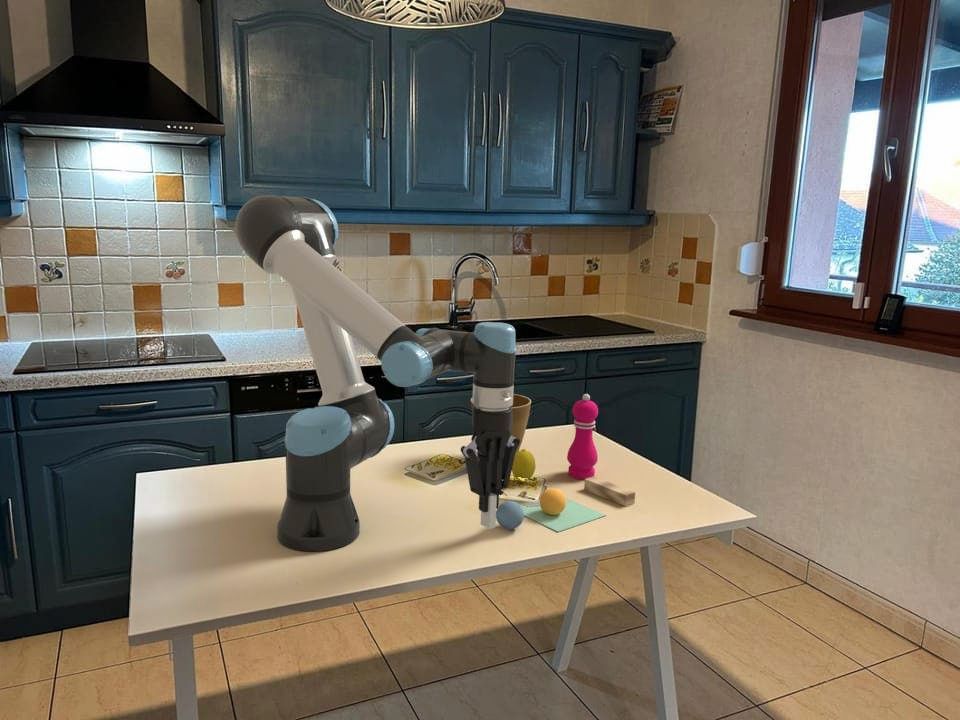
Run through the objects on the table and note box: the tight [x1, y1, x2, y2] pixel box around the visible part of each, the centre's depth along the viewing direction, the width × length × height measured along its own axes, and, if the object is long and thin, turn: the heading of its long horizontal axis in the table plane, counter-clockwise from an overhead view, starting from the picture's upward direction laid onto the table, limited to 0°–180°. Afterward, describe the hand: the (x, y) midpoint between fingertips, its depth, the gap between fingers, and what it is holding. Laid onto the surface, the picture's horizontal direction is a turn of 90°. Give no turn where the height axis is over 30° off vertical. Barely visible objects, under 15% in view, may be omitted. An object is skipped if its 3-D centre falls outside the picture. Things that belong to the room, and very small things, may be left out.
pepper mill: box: [566, 393, 599, 480], centre depth 172 cm, size 7×7×20 cm
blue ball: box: [496, 500, 525, 530], centre depth 142 cm, size 6×6×6 cm
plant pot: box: [470, 393, 532, 453], centre depth 180 cm, size 15×15×16 cm
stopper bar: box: [583, 475, 636, 507], centre depth 161 cm, size 12×3×2 cm, turn 39°
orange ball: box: [538, 487, 567, 515], centre depth 150 cm, size 6×6×6 cm
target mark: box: [519, 497, 607, 533], centre depth 151 cm, size 14×14×1 cm
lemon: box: [511, 448, 536, 479], centre depth 167 cm, size 6×6×8 cm
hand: (488, 525), depth 139 cm, fingers closed
